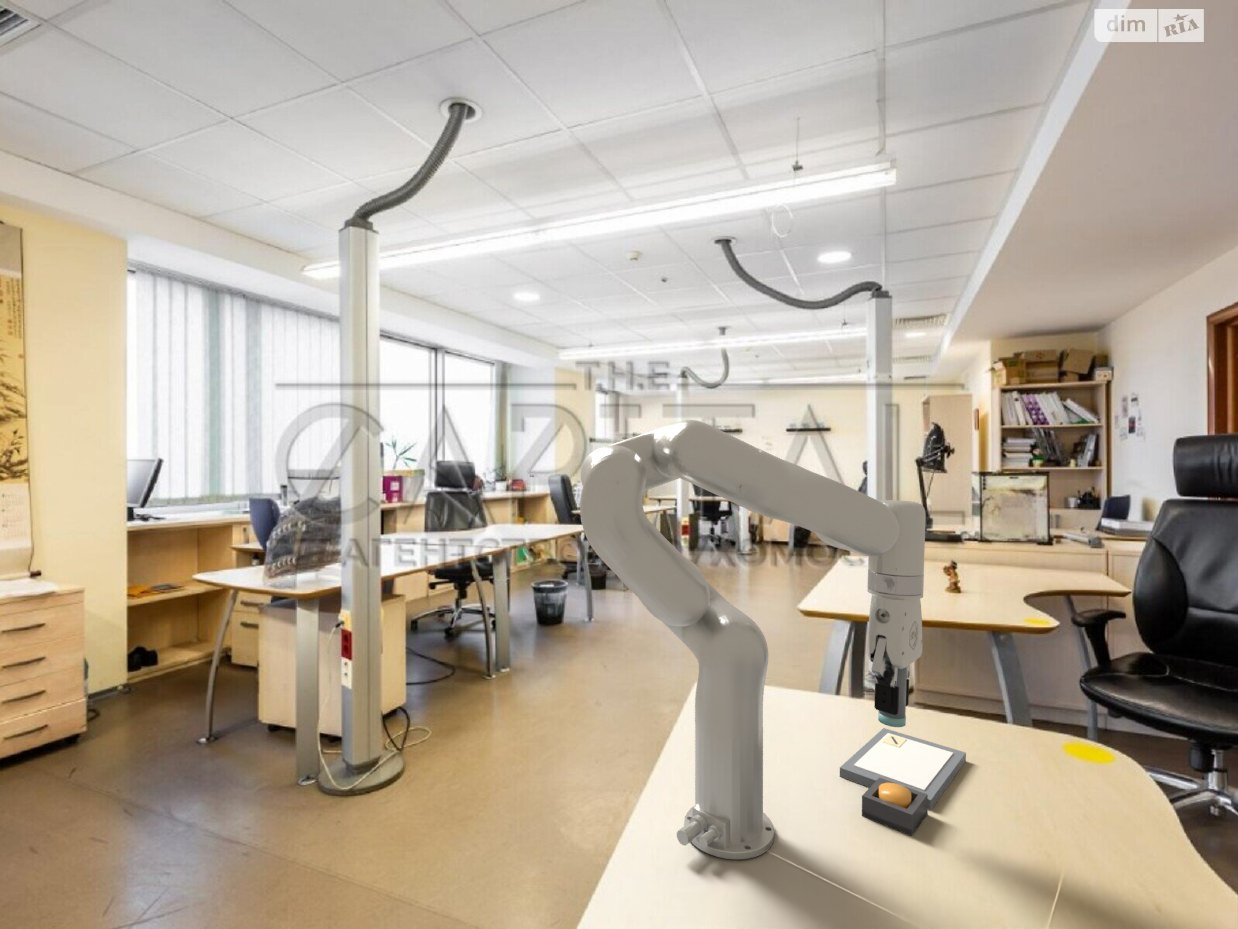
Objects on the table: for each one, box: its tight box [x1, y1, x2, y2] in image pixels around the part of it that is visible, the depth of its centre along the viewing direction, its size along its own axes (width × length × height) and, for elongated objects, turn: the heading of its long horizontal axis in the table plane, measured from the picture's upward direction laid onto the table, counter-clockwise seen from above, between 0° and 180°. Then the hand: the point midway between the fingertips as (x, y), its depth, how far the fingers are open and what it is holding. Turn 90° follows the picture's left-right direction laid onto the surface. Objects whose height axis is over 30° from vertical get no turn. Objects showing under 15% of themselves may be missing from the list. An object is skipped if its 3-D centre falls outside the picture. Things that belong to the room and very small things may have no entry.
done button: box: [879, 783, 911, 809], centre depth 90 cm, size 4×4×2 cm
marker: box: [877, 659, 908, 728], centre depth 89 cm, size 4×4×11 cm
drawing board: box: [839, 727, 967, 811], centre depth 103 cm, size 20×14×2 cm
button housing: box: [861, 777, 929, 837], centre depth 90 cm, size 7×7×3 cm
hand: (891, 706), depth 89 cm, fingers closed on marker, 3 cm apart
